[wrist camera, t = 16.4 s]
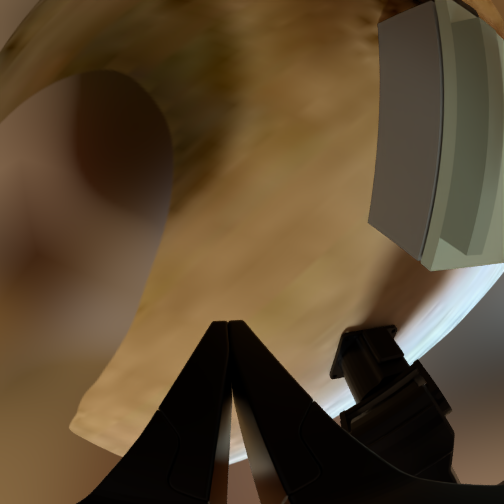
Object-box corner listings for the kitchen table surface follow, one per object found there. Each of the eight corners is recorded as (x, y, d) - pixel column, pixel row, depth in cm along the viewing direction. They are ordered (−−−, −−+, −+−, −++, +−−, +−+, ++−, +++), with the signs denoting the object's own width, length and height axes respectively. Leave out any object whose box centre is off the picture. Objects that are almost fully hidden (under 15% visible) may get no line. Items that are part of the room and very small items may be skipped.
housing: (482, 226, 22) (523, 252, 16) (367, 222, 20) (417, 260, 14) (496, 84, 15) (542, 89, 9) (377, 23, 13) (431, 0, 7)
